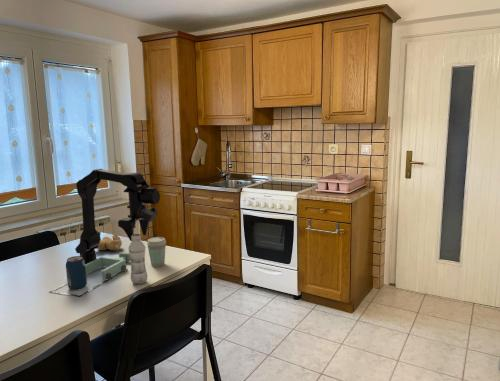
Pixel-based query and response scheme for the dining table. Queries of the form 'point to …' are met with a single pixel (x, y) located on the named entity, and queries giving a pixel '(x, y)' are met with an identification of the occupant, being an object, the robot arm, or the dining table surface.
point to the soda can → (76, 273)
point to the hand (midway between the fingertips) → (138, 238)
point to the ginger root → (110, 243)
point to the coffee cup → (157, 251)
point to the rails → (86, 291)
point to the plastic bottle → (137, 260)
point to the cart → (109, 265)
